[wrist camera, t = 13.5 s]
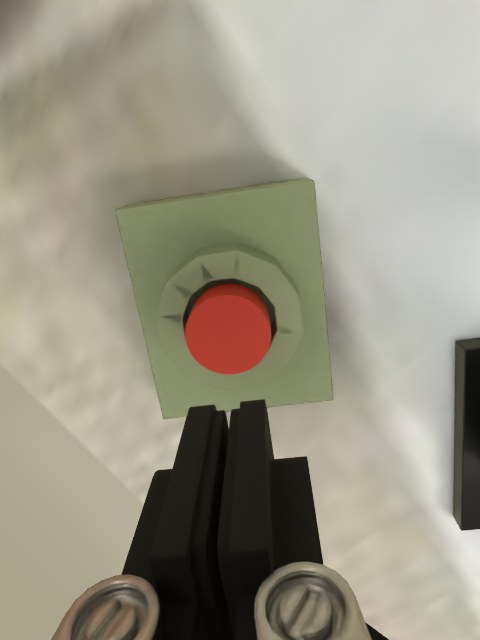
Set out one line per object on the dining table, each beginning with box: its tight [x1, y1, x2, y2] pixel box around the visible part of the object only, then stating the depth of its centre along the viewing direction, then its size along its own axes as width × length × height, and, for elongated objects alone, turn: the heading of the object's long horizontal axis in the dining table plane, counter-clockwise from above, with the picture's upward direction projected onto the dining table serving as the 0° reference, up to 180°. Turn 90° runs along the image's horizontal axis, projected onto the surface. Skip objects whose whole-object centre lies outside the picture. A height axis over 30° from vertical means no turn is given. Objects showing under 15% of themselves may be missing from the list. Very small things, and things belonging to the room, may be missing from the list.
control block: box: [115, 178, 333, 419], centre depth 22 cm, size 11×9×4 cm
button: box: [185, 284, 271, 375], centre depth 20 cm, size 4×4×2 cm
